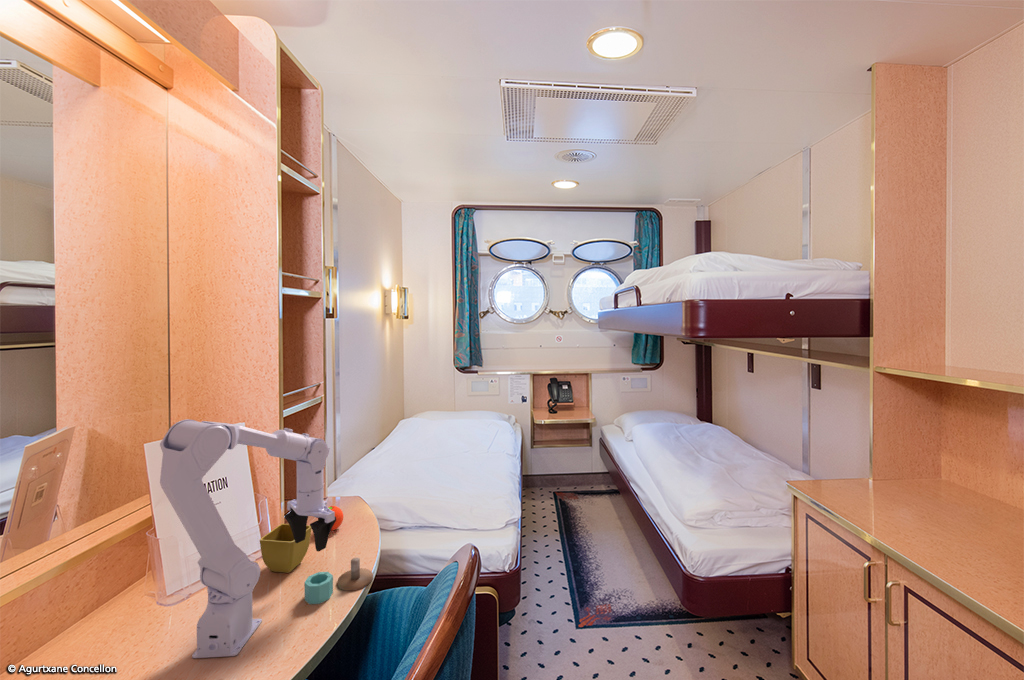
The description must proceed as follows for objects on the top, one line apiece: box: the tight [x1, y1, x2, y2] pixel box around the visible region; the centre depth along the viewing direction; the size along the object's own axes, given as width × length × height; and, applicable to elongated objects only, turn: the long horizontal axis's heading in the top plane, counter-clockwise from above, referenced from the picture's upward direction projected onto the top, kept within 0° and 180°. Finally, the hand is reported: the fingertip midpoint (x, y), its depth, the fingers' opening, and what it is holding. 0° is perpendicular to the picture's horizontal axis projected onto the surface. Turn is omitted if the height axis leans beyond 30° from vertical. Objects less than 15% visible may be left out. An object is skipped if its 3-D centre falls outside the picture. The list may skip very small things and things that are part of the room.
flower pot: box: [259, 523, 312, 573], centre depth 106 cm, size 9×9×9 cm
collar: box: [304, 571, 334, 605], centre depth 95 cm, size 5×5×4 cm
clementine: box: [327, 505, 344, 532], centre depth 126 cm, size 8×7×7 cm
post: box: [337, 557, 374, 592], centre depth 101 cm, size 8×8×5 cm
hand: (310, 545), depth 99 cm, fingers open, 7 cm apart
